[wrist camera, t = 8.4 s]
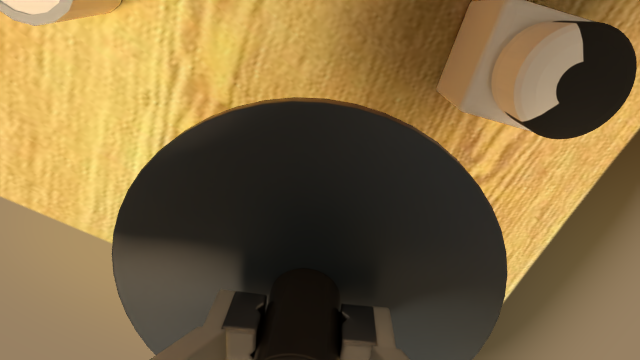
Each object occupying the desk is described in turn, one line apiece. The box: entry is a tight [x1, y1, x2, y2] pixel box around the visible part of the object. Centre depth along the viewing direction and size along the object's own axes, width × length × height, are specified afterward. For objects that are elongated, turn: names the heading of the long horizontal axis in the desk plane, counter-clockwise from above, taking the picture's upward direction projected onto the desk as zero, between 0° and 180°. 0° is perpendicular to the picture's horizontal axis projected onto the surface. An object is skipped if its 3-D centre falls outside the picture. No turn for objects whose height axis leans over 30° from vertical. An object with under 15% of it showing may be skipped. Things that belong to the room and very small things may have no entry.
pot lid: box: [112, 98, 507, 360], centre depth 12 cm, size 13×13×5 cm
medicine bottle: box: [437, 0, 637, 139], centre depth 24 cm, size 7×7×12 cm
